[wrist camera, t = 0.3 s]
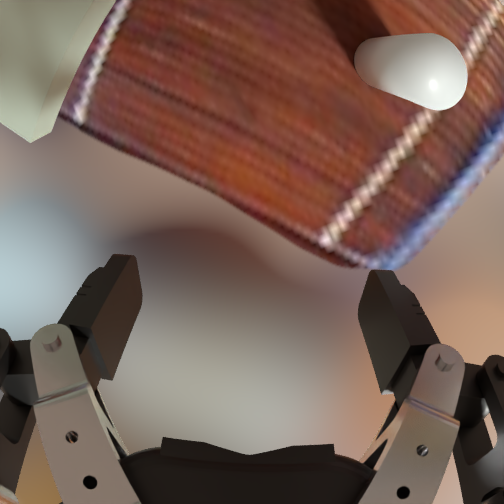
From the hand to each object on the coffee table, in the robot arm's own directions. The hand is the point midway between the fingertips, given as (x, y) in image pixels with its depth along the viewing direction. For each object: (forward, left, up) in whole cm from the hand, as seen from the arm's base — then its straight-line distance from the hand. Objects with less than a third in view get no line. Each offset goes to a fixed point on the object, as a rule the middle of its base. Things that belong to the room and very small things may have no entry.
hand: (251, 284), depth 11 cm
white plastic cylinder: (-13, +4, -22) cm, 25 cm away
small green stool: (-2, -17, -22) cm, 28 cm away
